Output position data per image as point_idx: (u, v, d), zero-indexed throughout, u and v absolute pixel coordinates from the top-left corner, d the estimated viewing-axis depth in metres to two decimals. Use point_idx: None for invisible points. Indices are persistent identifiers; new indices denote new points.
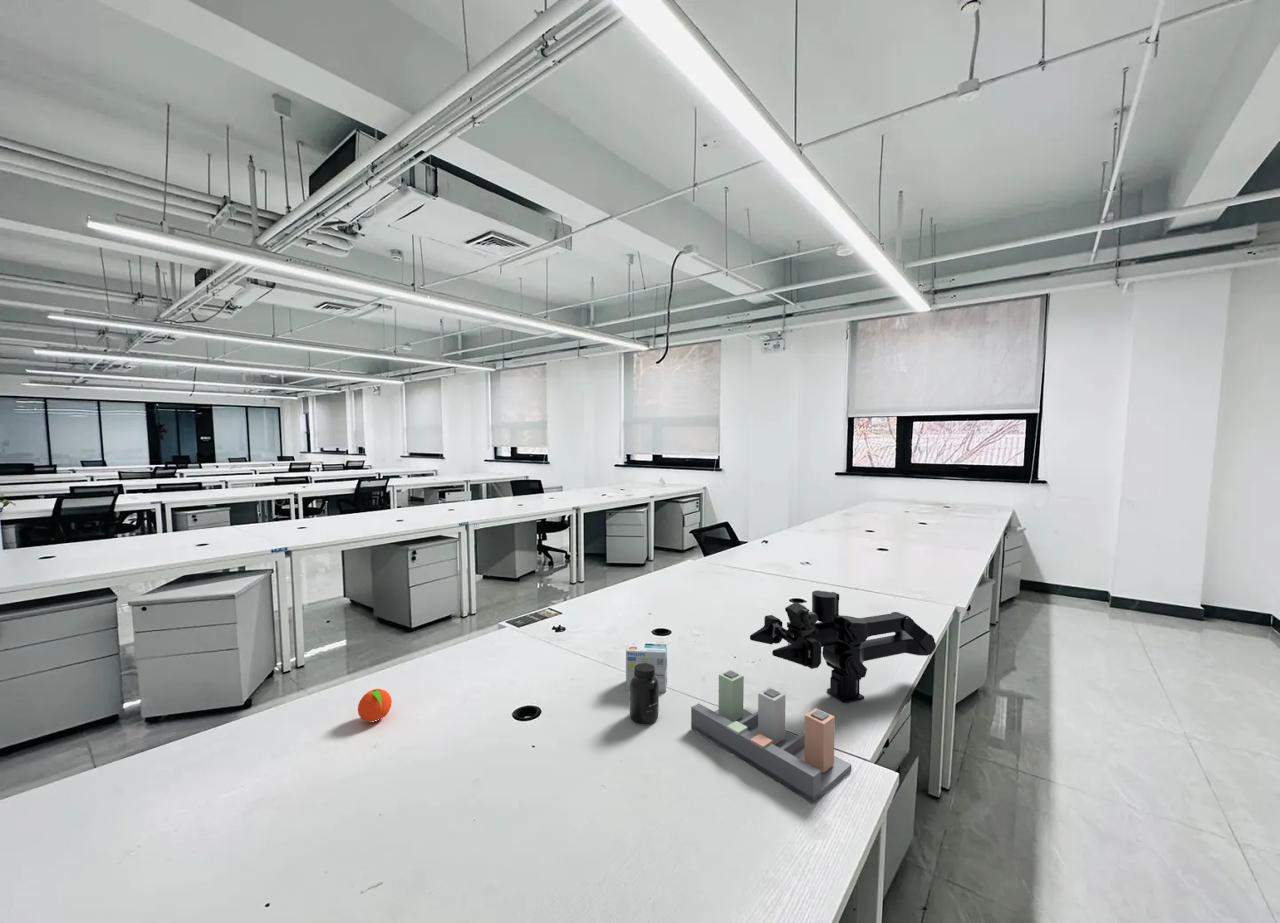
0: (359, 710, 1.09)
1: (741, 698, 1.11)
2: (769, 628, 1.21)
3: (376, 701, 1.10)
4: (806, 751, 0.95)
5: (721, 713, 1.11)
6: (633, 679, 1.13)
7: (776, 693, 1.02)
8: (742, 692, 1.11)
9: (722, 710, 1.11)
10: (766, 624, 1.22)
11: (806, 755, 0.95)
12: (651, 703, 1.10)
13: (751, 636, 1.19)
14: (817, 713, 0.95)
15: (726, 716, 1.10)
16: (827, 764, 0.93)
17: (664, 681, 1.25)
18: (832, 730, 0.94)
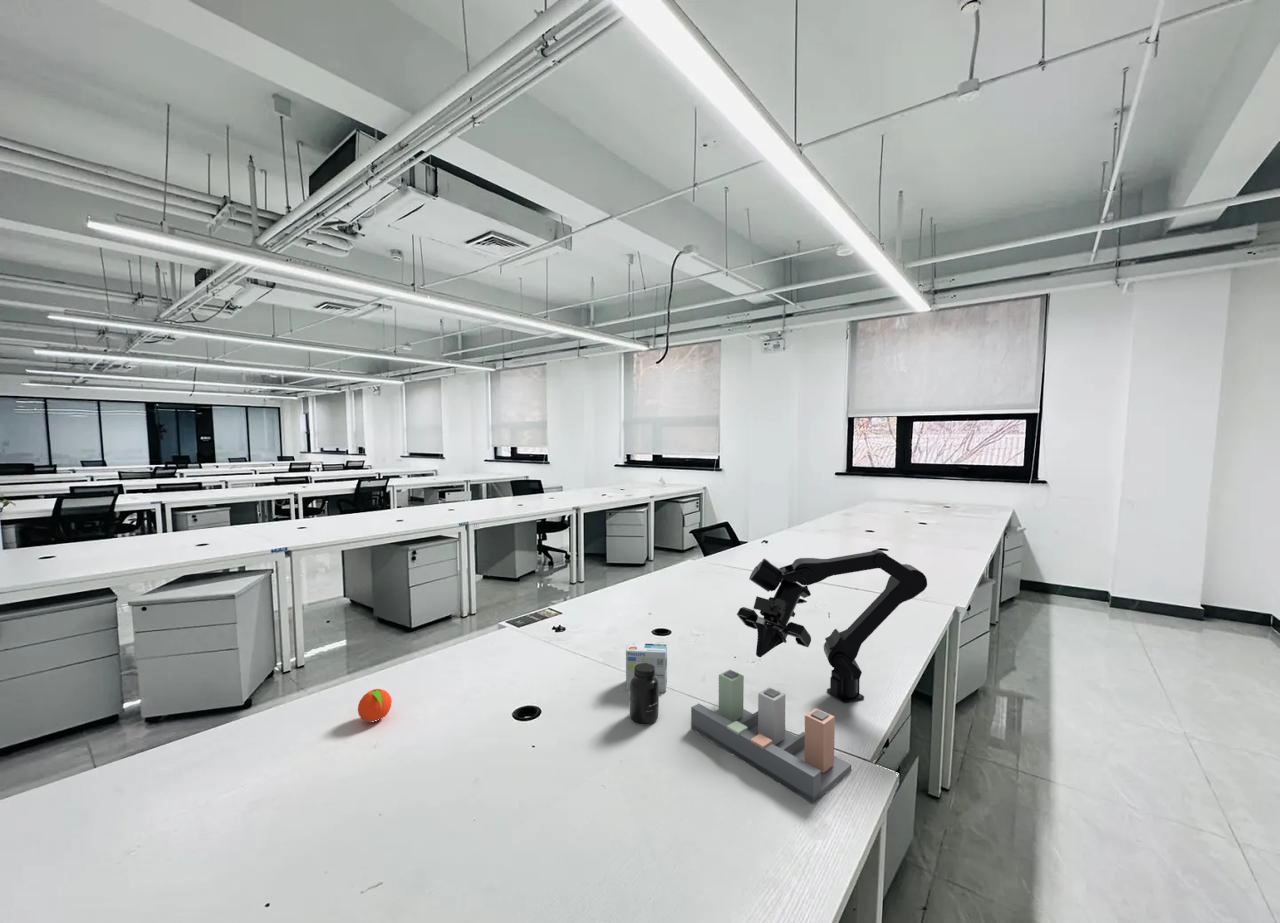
0: (359, 710, 1.10)
1: (741, 698, 1.11)
2: (763, 631, 1.20)
3: (376, 701, 1.10)
4: (806, 751, 0.95)
5: (721, 713, 1.11)
6: (633, 679, 1.13)
7: (776, 693, 1.02)
8: (742, 692, 1.11)
9: (722, 710, 1.11)
10: (758, 629, 1.21)
11: (806, 755, 0.95)
12: (651, 703, 1.10)
13: (757, 654, 1.18)
14: (817, 713, 0.95)
15: (726, 716, 1.10)
16: (827, 764, 0.93)
17: (664, 681, 1.25)
18: (832, 730, 0.94)
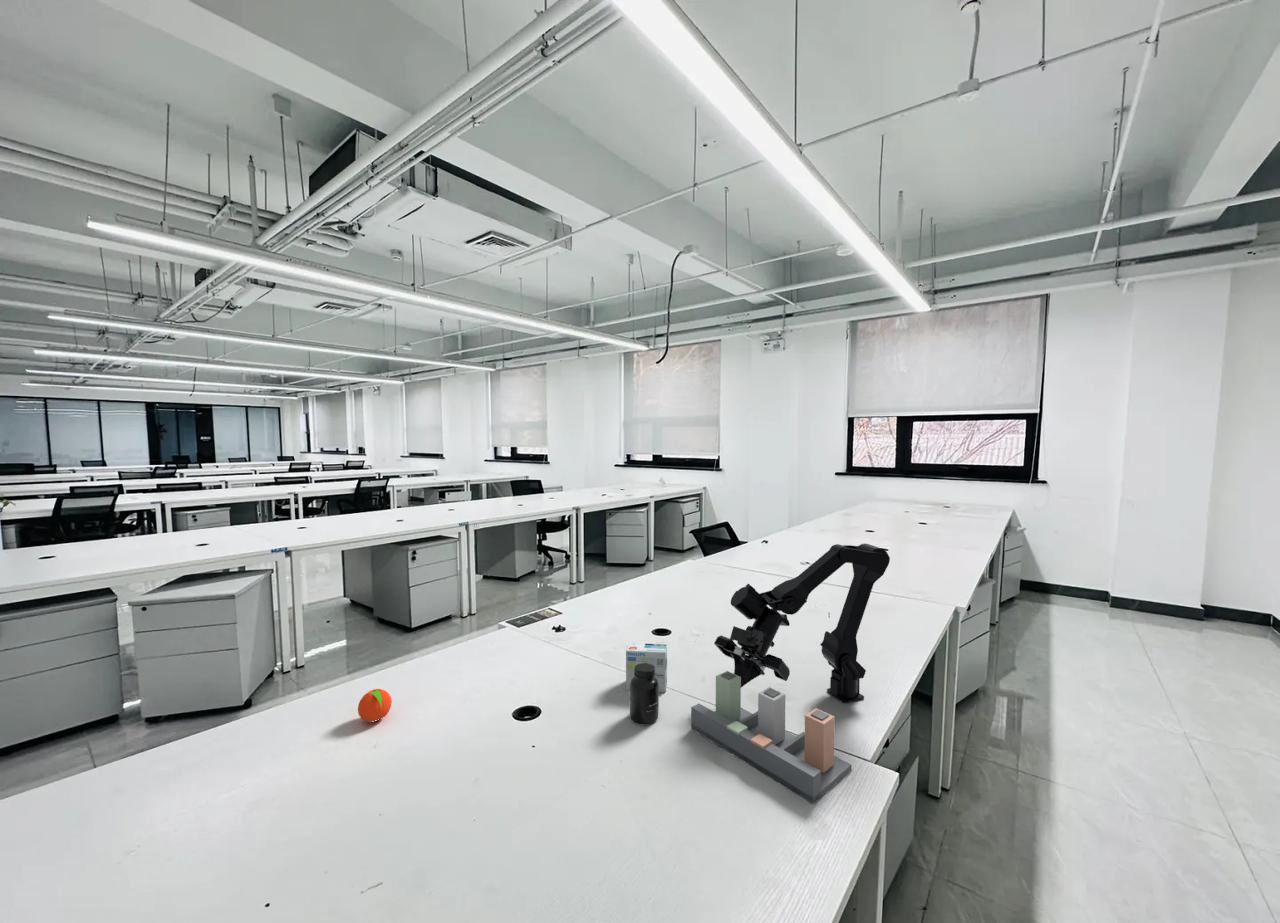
0: (359, 710, 1.10)
1: (738, 700, 1.10)
2: (741, 663, 1.15)
3: (376, 701, 1.10)
4: (806, 751, 0.95)
5: None
6: (633, 679, 1.13)
7: (776, 693, 1.02)
8: (739, 693, 1.10)
9: (719, 712, 1.10)
10: (735, 660, 1.15)
11: (806, 755, 0.95)
12: (651, 703, 1.10)
13: None
14: (817, 713, 0.95)
15: None
16: (827, 764, 0.93)
17: (664, 681, 1.25)
18: (832, 730, 0.94)
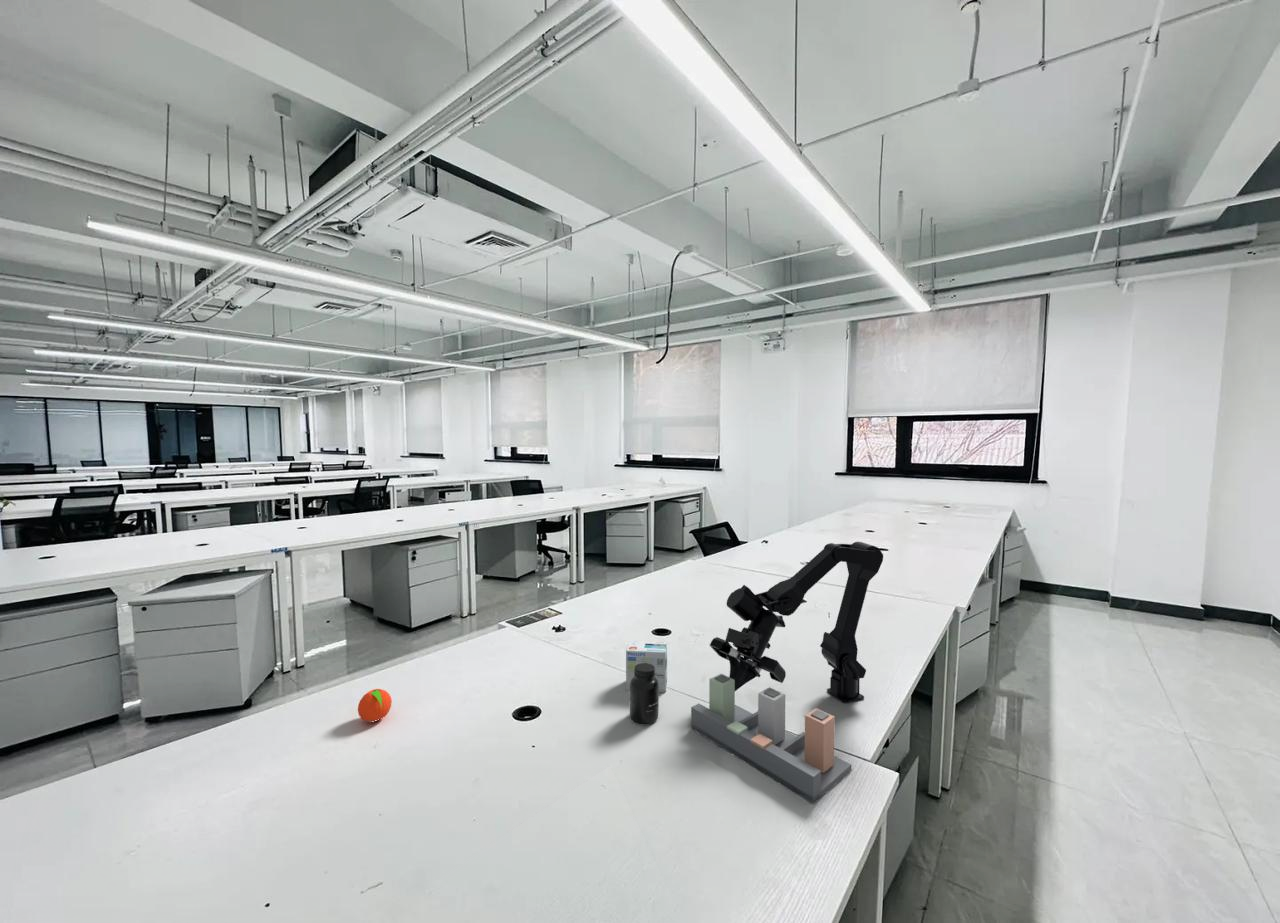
0: (359, 710, 1.09)
1: (732, 703, 1.09)
2: (736, 665, 1.13)
3: (376, 701, 1.10)
4: (806, 751, 0.95)
5: None
6: (633, 679, 1.13)
7: (776, 693, 1.02)
8: (733, 697, 1.09)
9: None
10: (731, 662, 1.14)
11: (806, 755, 0.95)
12: (651, 703, 1.10)
13: None
14: (817, 713, 0.95)
15: None
16: (827, 764, 0.93)
17: (664, 681, 1.25)
18: (832, 730, 0.94)
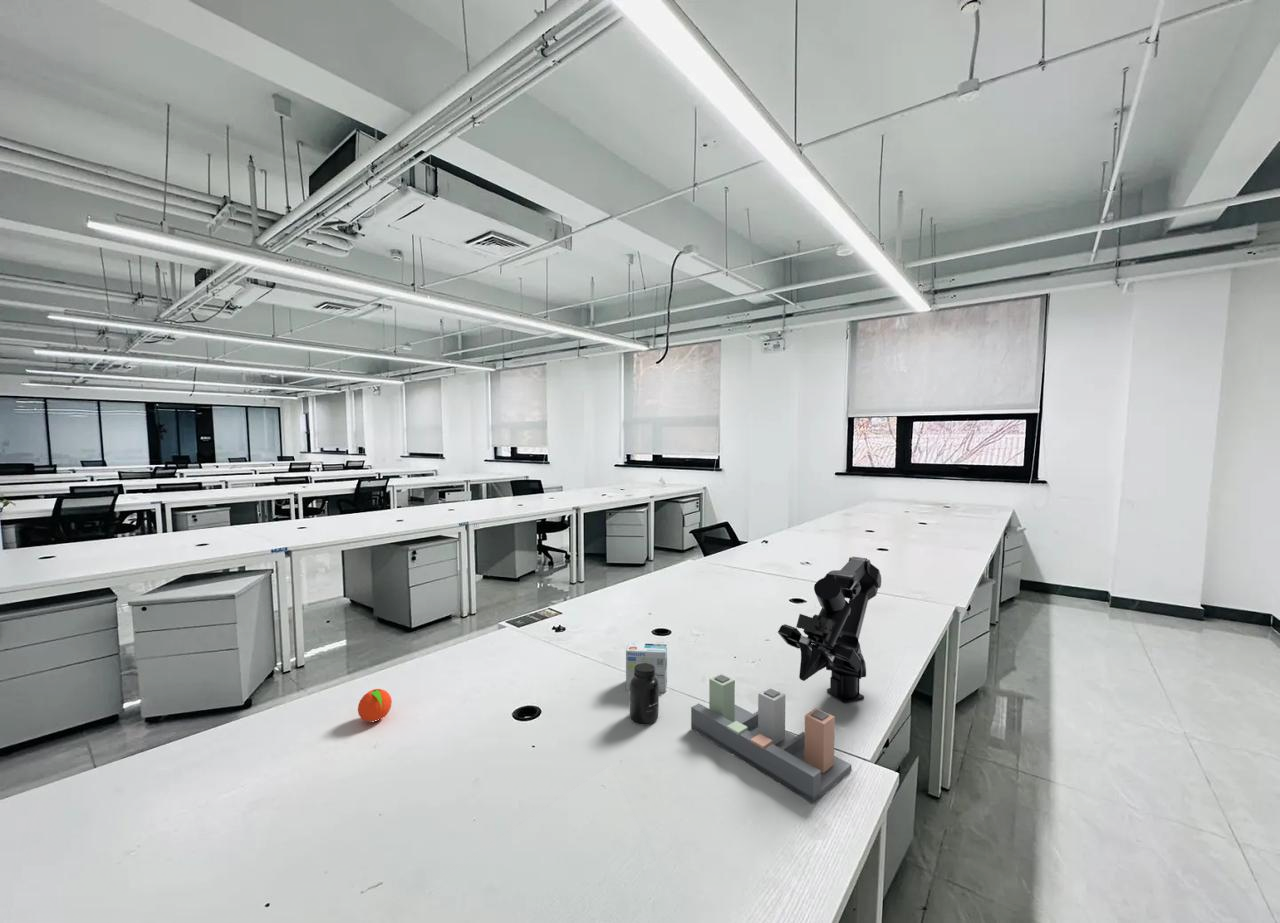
0: (359, 710, 1.10)
1: (732, 703, 1.09)
2: (808, 652, 1.10)
3: (376, 701, 1.10)
4: (806, 751, 0.95)
5: None
6: (633, 679, 1.13)
7: (776, 693, 1.02)
8: (733, 697, 1.09)
9: None
10: (802, 649, 1.11)
11: (806, 755, 0.95)
12: (651, 703, 1.10)
13: (801, 677, 1.08)
14: (817, 713, 0.95)
15: None
16: (827, 764, 0.93)
17: (664, 681, 1.25)
18: (832, 730, 0.94)
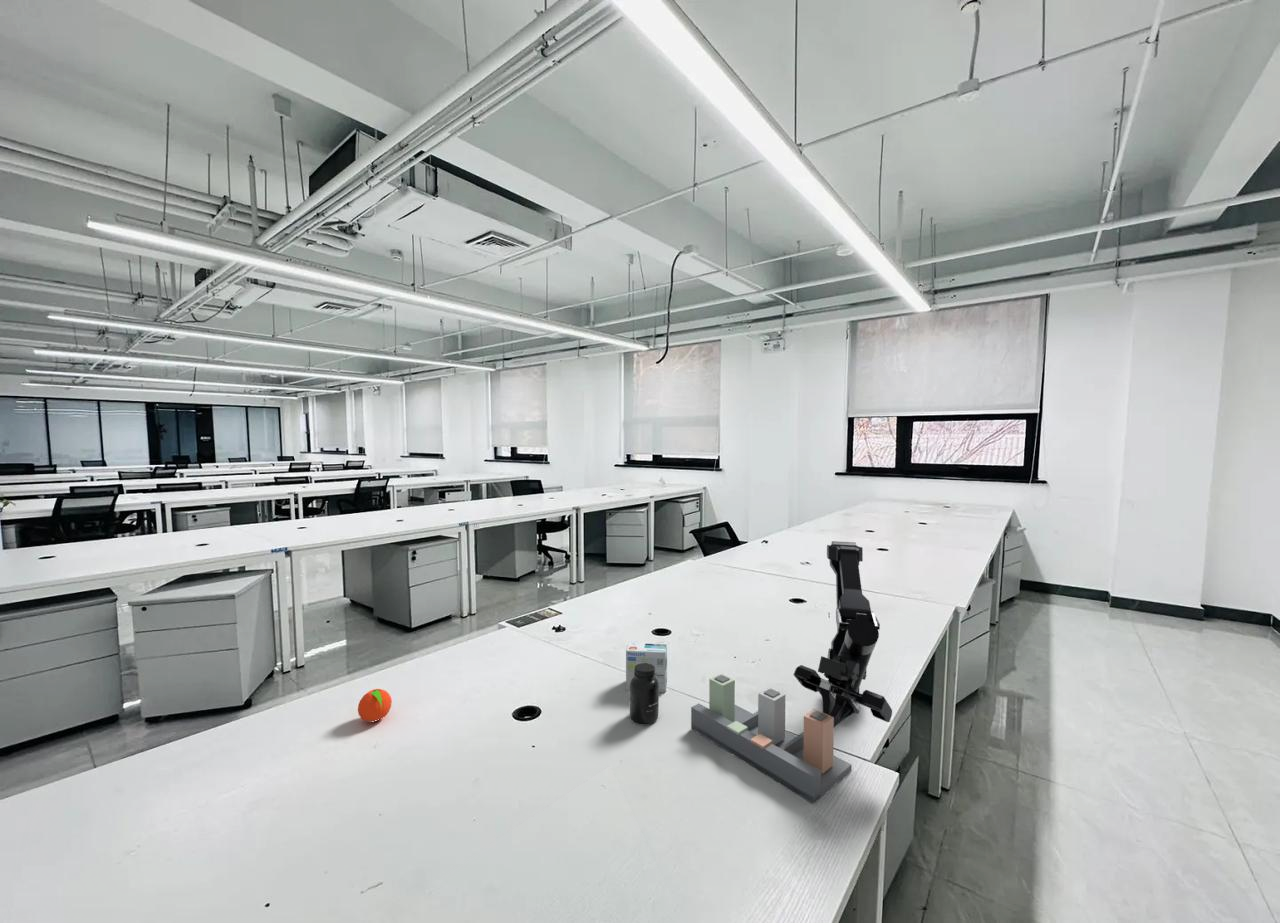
0: (359, 710, 1.10)
1: (732, 703, 1.09)
2: (830, 699, 0.98)
3: (376, 701, 1.10)
4: (805, 752, 0.94)
5: None
6: (633, 679, 1.13)
7: (776, 693, 1.02)
8: (733, 697, 1.09)
9: None
10: (824, 696, 0.99)
11: (805, 756, 0.94)
12: (651, 703, 1.10)
13: None
14: (816, 714, 0.94)
15: None
16: (826, 765, 0.93)
17: (664, 681, 1.25)
18: (831, 731, 0.93)
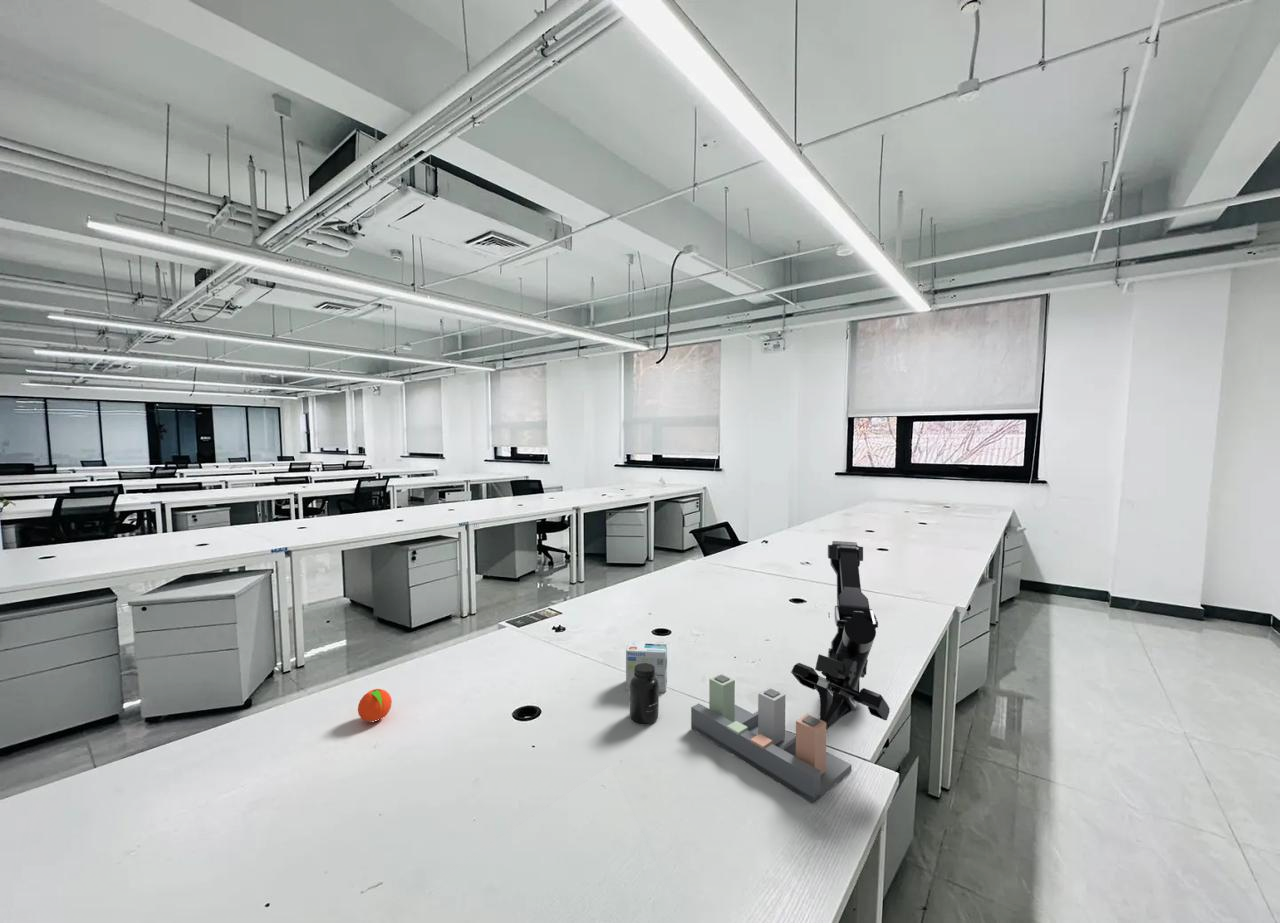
0: (359, 710, 1.09)
1: (732, 703, 1.09)
2: (828, 697, 0.98)
3: (376, 701, 1.10)
4: None
5: None
6: (633, 679, 1.13)
7: (776, 693, 1.02)
8: (733, 697, 1.09)
9: None
10: (821, 694, 0.98)
11: None
12: (651, 703, 1.10)
13: None
14: (808, 719, 0.93)
15: None
16: None
17: (664, 681, 1.25)
18: (823, 736, 0.92)
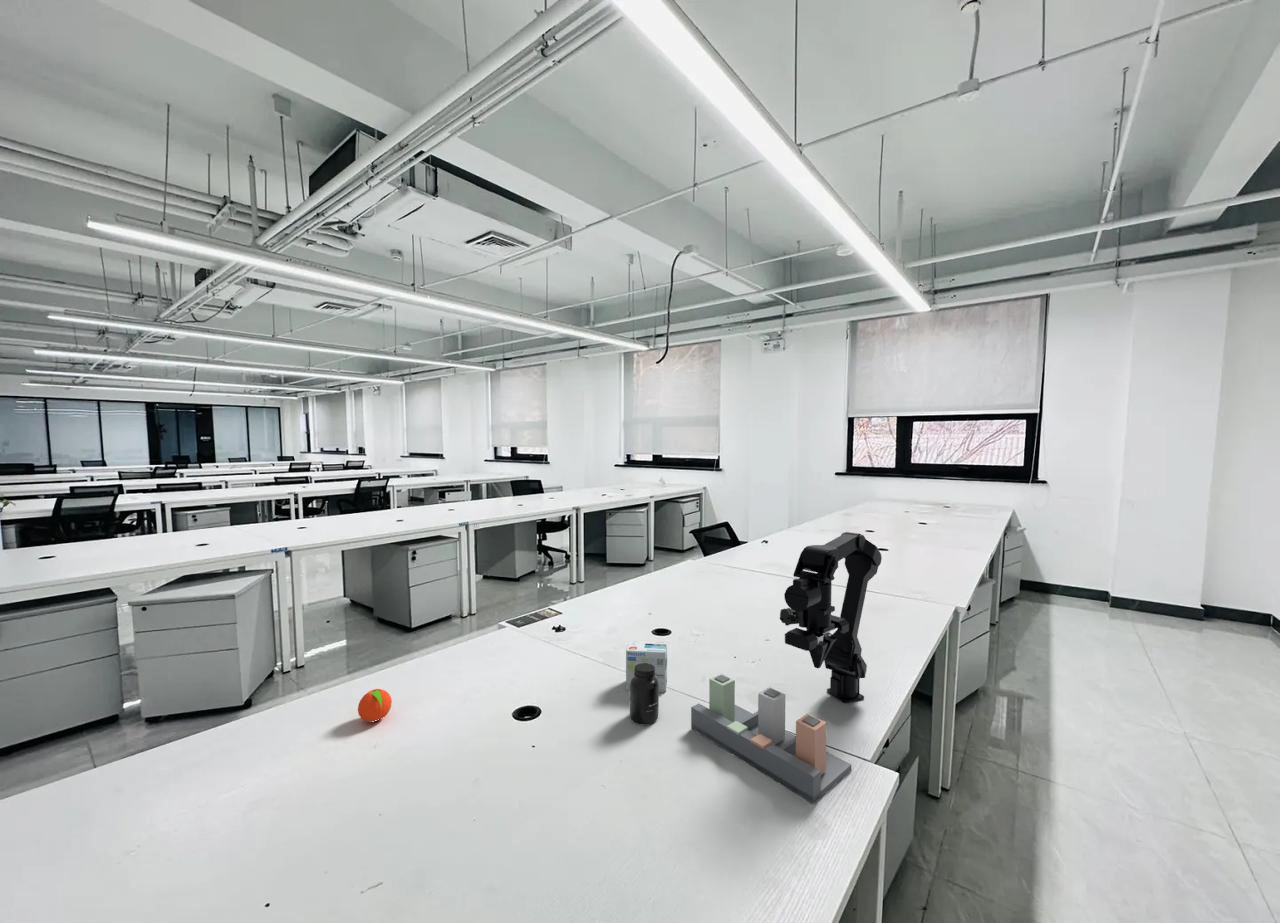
0: (359, 710, 1.09)
1: (732, 703, 1.09)
2: None
3: (376, 701, 1.10)
4: None
5: None
6: (633, 679, 1.13)
7: (776, 693, 1.02)
8: (733, 697, 1.09)
9: None
10: None
11: None
12: (651, 703, 1.10)
13: None
14: (808, 719, 0.93)
15: None
16: None
17: (664, 681, 1.25)
18: (823, 736, 0.92)
